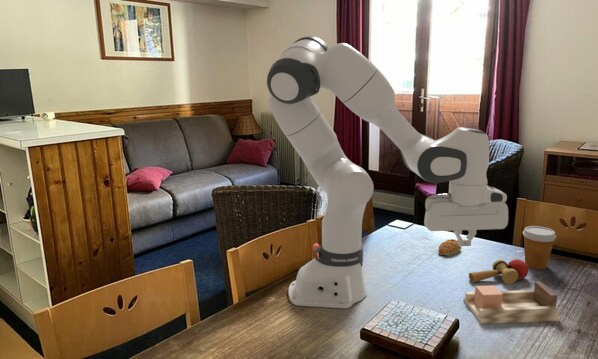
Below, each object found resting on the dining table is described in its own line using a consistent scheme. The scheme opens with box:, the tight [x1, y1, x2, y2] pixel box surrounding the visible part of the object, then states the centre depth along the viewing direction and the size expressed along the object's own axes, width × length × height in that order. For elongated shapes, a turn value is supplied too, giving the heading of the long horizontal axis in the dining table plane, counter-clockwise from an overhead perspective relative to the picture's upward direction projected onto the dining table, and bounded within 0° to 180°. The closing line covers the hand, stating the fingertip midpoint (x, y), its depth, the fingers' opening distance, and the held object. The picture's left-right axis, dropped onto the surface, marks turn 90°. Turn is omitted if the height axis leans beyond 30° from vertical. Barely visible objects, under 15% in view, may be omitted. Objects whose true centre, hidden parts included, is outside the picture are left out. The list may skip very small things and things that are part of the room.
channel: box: [463, 281, 561, 325], centre depth 120 cm, size 20×12×6 cm, turn 92°
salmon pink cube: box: [474, 284, 503, 309], centre depth 120 cm, size 5×5×5 cm
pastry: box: [438, 238, 462, 257], centre depth 160 cm, size 9×7×4 cm
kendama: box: [468, 258, 530, 285], centre depth 138 cm, size 8×6×18 cm
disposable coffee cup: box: [522, 225, 557, 270], centre depth 147 cm, size 10×10×12 cm
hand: (463, 245), depth 116 cm, fingers closed
